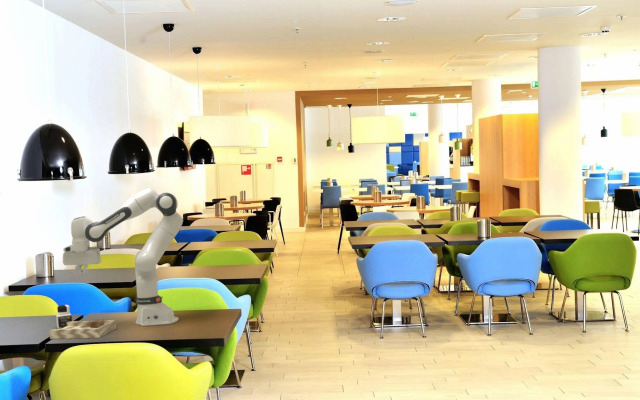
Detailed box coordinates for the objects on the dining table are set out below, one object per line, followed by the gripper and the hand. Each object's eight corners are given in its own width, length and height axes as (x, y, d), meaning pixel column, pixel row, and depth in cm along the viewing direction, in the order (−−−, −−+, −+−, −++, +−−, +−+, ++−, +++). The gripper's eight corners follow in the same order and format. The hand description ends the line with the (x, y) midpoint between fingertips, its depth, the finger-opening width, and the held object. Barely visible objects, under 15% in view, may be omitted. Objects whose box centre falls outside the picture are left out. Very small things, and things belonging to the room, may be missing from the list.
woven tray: (115, 328, 379) (115, 320, 379) (99, 337, 359) (98, 328, 359) (69, 330, 382) (68, 321, 382) (49, 339, 362) (49, 330, 362)
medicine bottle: (58, 329, 385) (57, 307, 385) (56, 327, 392) (55, 305, 391) (72, 327, 388) (71, 305, 388) (70, 325, 395) (69, 303, 394)
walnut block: (104, 327, 371) (103, 319, 371) (99, 329, 366) (99, 321, 366) (95, 327, 372) (94, 320, 372) (90, 329, 367) (90, 322, 367)
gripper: (102, 245, 387) (103, 271, 388) (66, 247, 390) (67, 272, 391) (96, 247, 381) (98, 273, 381) (60, 248, 384) (62, 274, 384)
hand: (82, 273), depth 386 cm, fingers closed
